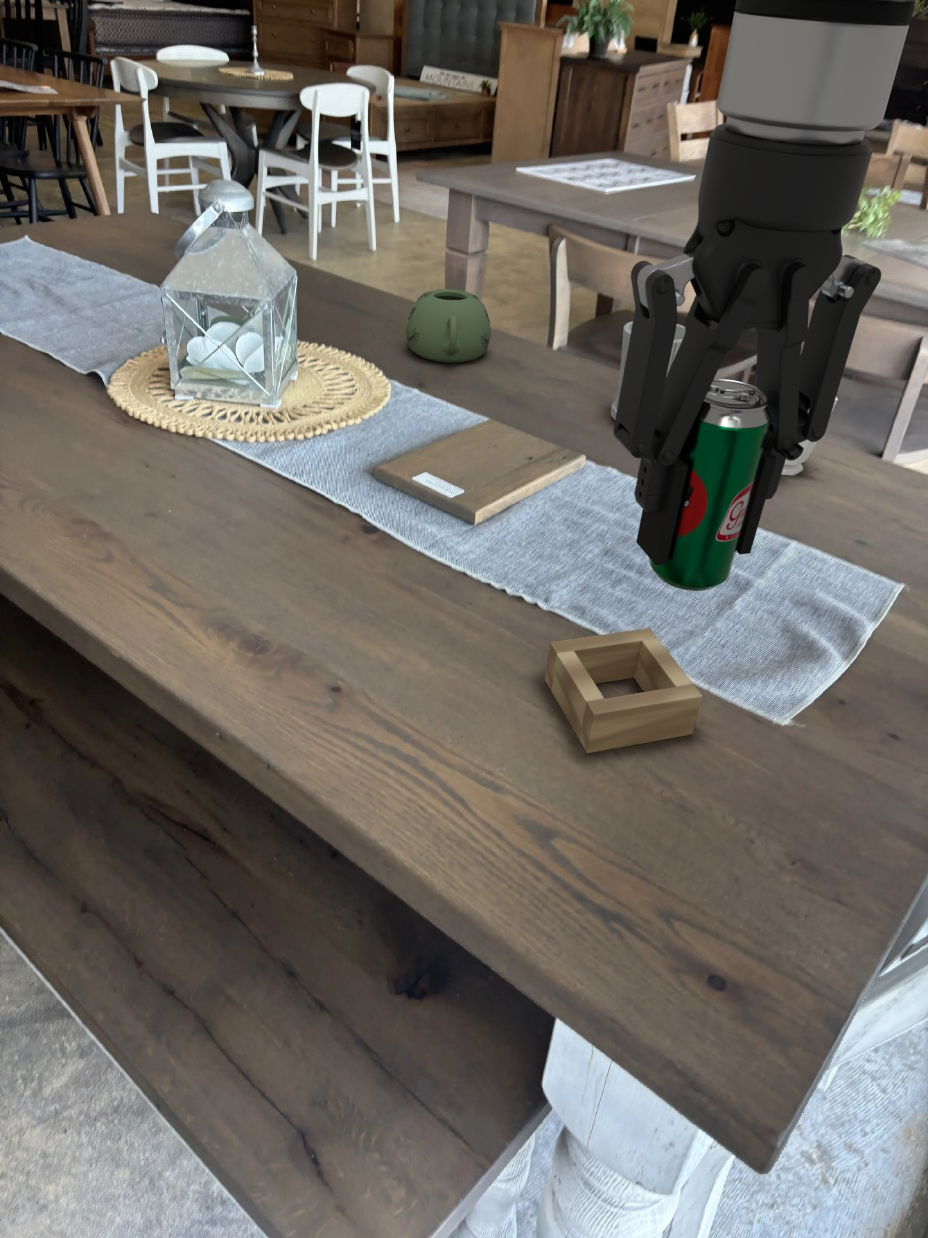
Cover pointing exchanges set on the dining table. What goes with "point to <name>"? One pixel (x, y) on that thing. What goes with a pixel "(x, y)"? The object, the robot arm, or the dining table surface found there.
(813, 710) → the dining table surface
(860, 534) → the dining table surface
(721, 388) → the soda can
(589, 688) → the holder
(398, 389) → the dining table surface
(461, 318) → the mug
